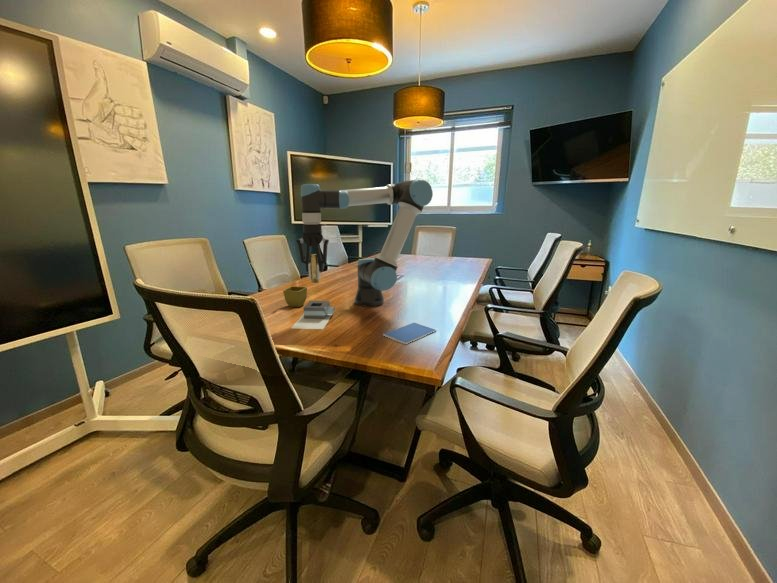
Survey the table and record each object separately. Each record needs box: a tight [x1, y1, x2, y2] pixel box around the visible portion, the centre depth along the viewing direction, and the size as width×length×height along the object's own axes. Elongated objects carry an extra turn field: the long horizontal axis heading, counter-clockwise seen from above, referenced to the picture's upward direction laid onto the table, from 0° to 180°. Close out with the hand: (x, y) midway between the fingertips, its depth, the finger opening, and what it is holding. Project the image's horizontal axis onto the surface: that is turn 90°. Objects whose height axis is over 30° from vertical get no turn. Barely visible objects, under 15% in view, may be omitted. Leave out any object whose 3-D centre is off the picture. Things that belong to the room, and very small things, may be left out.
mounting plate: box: [291, 313, 333, 330], centre depth 139 cm, size 13×22×2 cm, turn 178°
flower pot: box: [282, 285, 308, 308], centre depth 160 cm, size 9×9×9 cm
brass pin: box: [310, 253, 320, 284], centre depth 138 cm, size 3×3×12 cm
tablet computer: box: [382, 322, 437, 345], centre depth 128 cm, size 19×13×1 cm, turn 136°
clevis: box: [303, 300, 336, 319], centre depth 143 cm, size 12×10×5 cm
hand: (315, 278), depth 139 cm, fingers closed on brass pin, 3 cm apart
